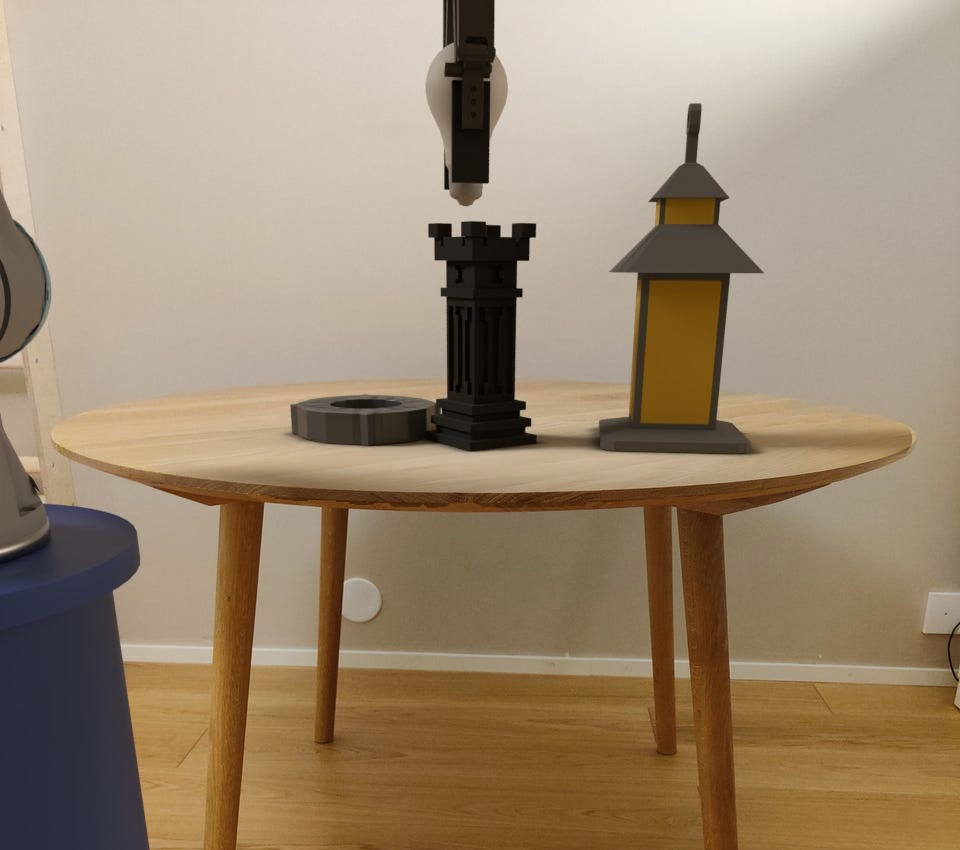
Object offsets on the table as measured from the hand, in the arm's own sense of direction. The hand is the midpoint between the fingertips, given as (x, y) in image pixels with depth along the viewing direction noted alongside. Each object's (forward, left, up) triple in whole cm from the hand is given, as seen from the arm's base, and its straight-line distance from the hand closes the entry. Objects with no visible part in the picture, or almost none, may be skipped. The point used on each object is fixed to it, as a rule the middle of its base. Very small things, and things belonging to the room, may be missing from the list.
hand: (465, 185), depth 73 cm
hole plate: (+9, +21, -22) cm, 32 cm away
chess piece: (+13, +8, -22) cm, 27 cm away
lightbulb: (0, 0, -2) cm, 2 cm away
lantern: (+26, -6, -22) cm, 35 cm away
